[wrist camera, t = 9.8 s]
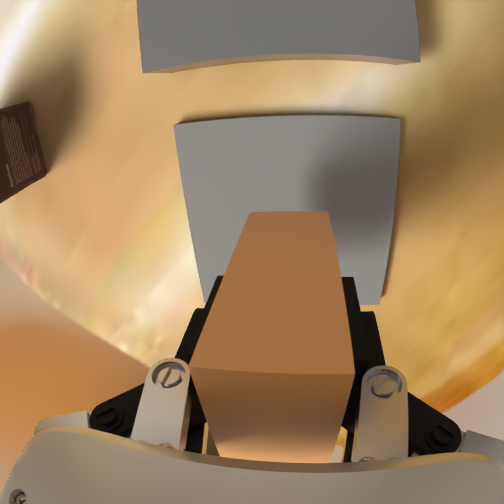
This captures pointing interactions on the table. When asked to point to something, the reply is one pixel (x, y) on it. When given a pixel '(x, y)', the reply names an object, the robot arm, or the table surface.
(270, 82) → the table surface
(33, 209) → the table surface
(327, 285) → the plug
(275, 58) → the socket block
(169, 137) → the table surface
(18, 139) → the box
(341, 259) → the mat
